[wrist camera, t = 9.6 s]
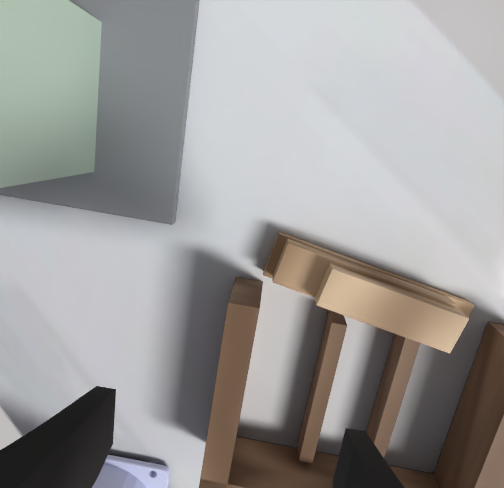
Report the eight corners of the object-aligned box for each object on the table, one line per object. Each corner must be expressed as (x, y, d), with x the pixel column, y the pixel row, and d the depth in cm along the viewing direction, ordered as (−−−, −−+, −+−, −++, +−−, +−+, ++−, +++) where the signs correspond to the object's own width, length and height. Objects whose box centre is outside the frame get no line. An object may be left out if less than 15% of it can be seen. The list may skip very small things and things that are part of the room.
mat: (-22, 188, 21) (-30, 189, 21) (-28, -42, 18) (-38, -48, 18) (175, 222, 21) (172, 224, 20) (199, -6, 18) (197, -11, 17)
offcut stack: (263, 269, 22) (261, 288, 19) (278, 230, 21) (279, 243, 18) (445, 335, 22) (470, 364, 19) (466, 298, 21) (495, 322, 18)
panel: (49, 164, 20) (-96, 179, 12) (52, 14, 18) (-117, -79, 10) (94, 171, 20) (-23, 191, 12) (101, 22, 18) (-31, -66, 10)
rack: (209, 444, 25) (198, 493, 21) (236, 277, 22) (227, 302, 18) (452, 490, 24) (480, 547, 21) (515, 326, 21) (559, 362, 18)
